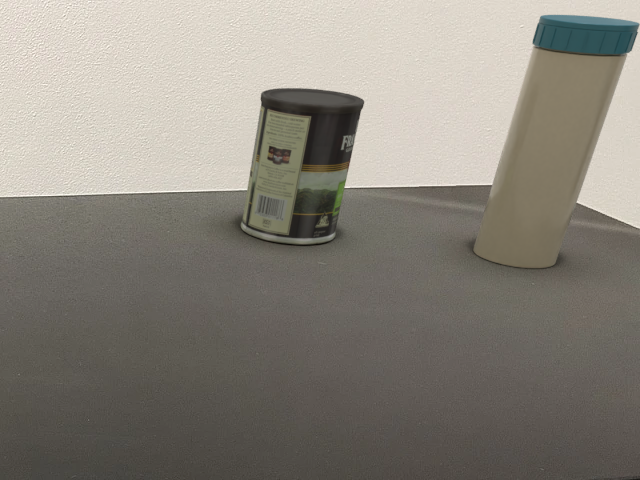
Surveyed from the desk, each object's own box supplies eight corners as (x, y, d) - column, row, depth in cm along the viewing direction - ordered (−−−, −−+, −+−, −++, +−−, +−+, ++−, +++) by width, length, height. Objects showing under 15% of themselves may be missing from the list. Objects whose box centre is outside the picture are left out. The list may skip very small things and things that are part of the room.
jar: (555, 251, 103) (632, 26, 92) (556, 273, 97) (639, 34, 85) (474, 239, 106) (539, 19, 94) (471, 260, 100) (540, 27, 88)
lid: (626, 46, 93) (636, 19, 91) (633, 57, 86) (644, 27, 85) (532, 39, 96) (539, 12, 94) (531, 48, 89) (540, 20, 88)
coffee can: (336, 224, 109) (365, 92, 102) (333, 250, 101) (364, 109, 94) (245, 213, 112) (266, 83, 105) (234, 237, 104) (256, 99, 96)
